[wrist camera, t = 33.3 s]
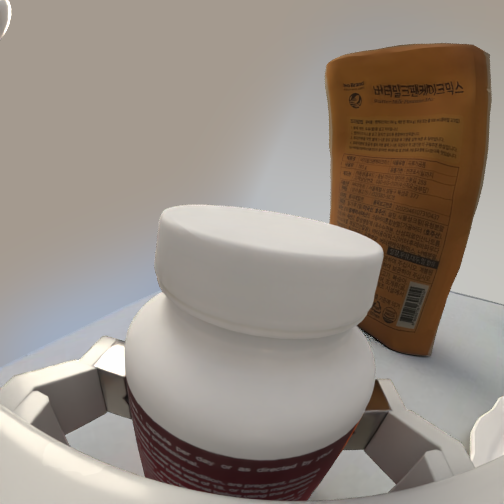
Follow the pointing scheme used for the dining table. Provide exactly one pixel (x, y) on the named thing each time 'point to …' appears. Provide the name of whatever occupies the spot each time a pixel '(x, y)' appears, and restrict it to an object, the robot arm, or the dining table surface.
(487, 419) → the plate
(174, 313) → the pill bottle
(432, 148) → the pancake mix bag
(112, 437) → the dining table surface
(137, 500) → the robot arm
